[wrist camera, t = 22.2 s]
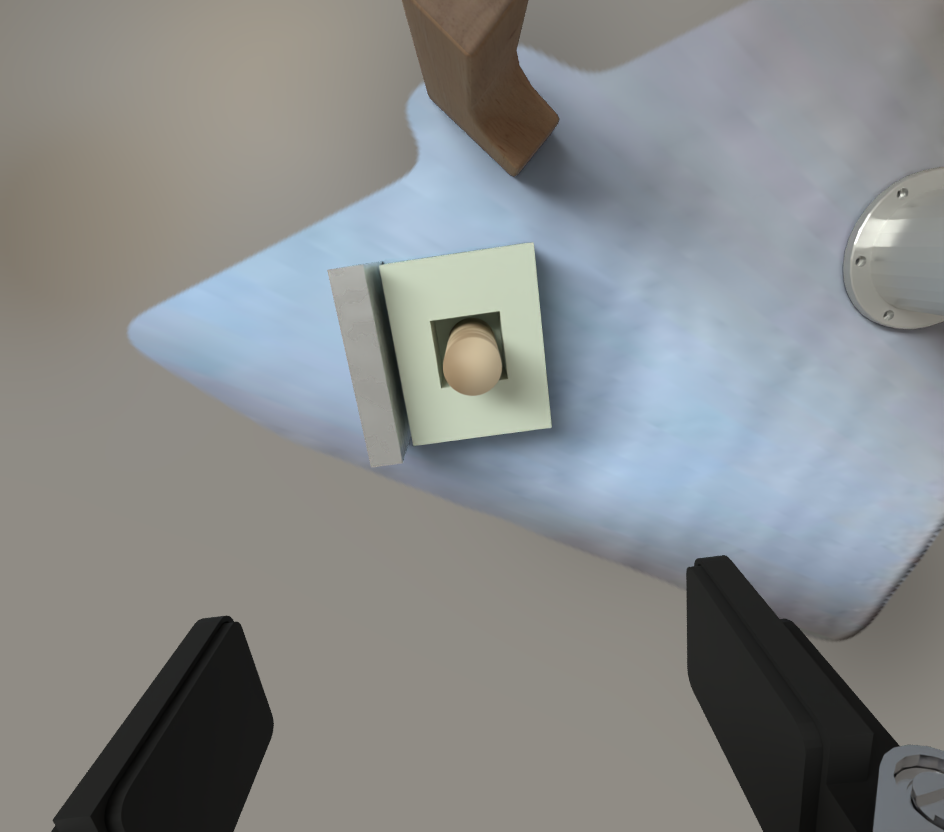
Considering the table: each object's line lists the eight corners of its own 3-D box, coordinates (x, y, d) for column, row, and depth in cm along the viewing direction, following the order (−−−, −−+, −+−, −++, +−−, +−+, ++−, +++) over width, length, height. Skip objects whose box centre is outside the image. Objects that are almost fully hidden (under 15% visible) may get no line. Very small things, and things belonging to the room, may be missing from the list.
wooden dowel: (491, 314, 44) (498, 334, 34) (497, 360, 45) (505, 391, 35) (445, 321, 44) (438, 342, 34) (452, 366, 45) (447, 399, 36)
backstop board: (381, 261, 43) (362, 264, 35) (413, 428, 48) (402, 463, 40) (352, 265, 43) (327, 269, 36) (386, 432, 48) (371, 467, 40)
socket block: (526, 242, 42) (533, 242, 38) (543, 408, 47) (551, 427, 42) (389, 263, 43) (379, 265, 38) (419, 425, 47) (413, 445, 43)
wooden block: (552, 131, 40) (614, 47, 23) (513, 179, 41) (545, 133, 24) (464, 42, 38) (459, -121, 21) (426, 95, 39) (392, -19, 22)
